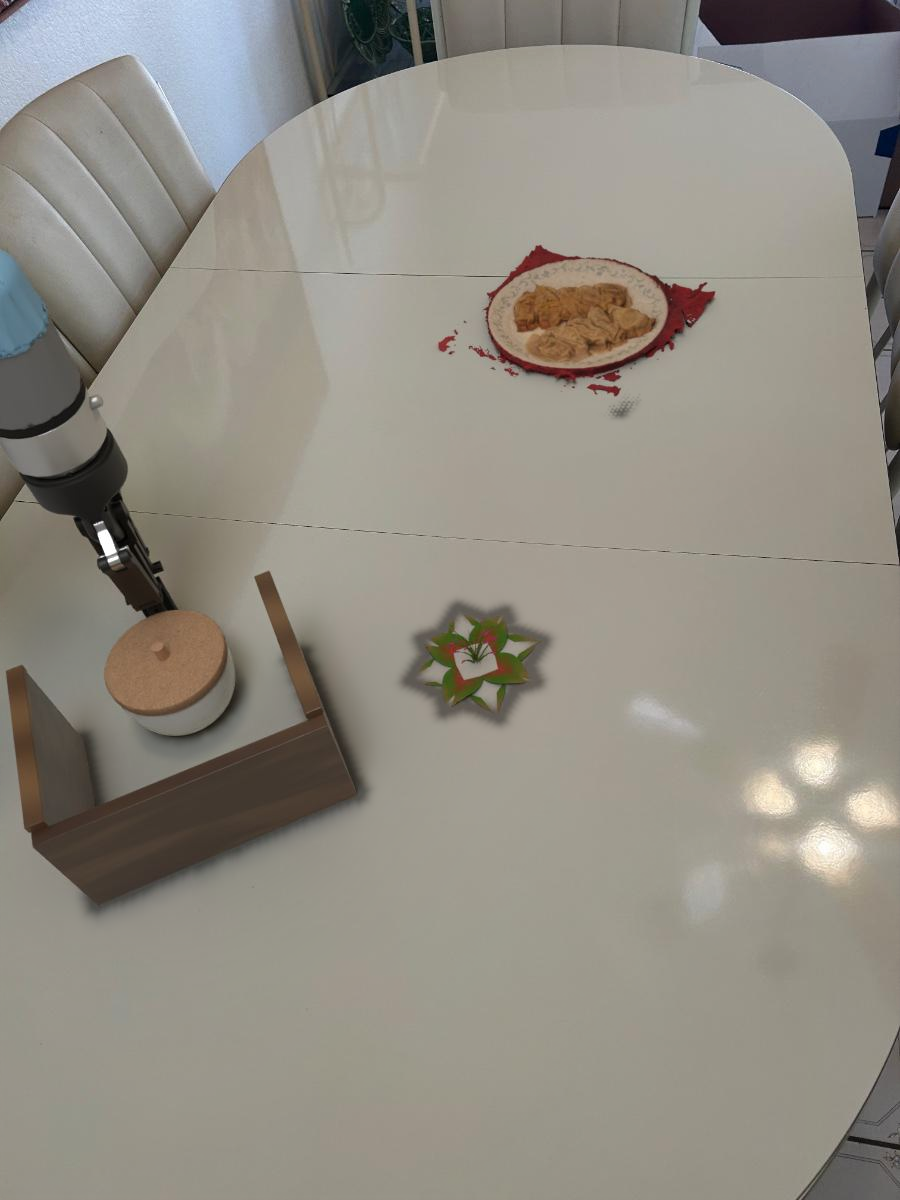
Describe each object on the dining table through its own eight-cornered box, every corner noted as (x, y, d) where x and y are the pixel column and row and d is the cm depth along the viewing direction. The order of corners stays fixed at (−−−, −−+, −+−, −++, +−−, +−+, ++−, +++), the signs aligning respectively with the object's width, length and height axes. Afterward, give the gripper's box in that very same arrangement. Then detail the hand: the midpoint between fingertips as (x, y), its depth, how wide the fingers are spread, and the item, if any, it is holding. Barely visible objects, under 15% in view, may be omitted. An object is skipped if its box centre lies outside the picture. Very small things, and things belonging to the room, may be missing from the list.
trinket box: (272, 679, 88) (243, 619, 81) (203, 773, 82) (166, 717, 75) (184, 643, 92) (149, 583, 85) (113, 730, 86) (69, 673, 79)
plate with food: (539, 257, 127) (537, 233, 124) (714, 301, 115) (717, 277, 112) (436, 357, 116) (432, 334, 114) (618, 417, 105) (618, 393, 102)
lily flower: (505, 740, 81) (501, 712, 77) (388, 692, 85) (379, 663, 82) (563, 638, 87) (562, 608, 83) (451, 597, 91) (445, 567, 88)
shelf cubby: (73, 748, 86) (5, 670, 76) (305, 656, 89) (269, 570, 79) (99, 909, 76) (25, 843, 66) (360, 798, 79) (326, 719, 69)
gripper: (124, 482, 69) (224, 662, 87) (97, 384, 76) (193, 569, 95) (24, 519, 67) (146, 694, 86) (6, 416, 75) (122, 596, 94)
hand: (171, 628), depth 90 cm, fingers closed
